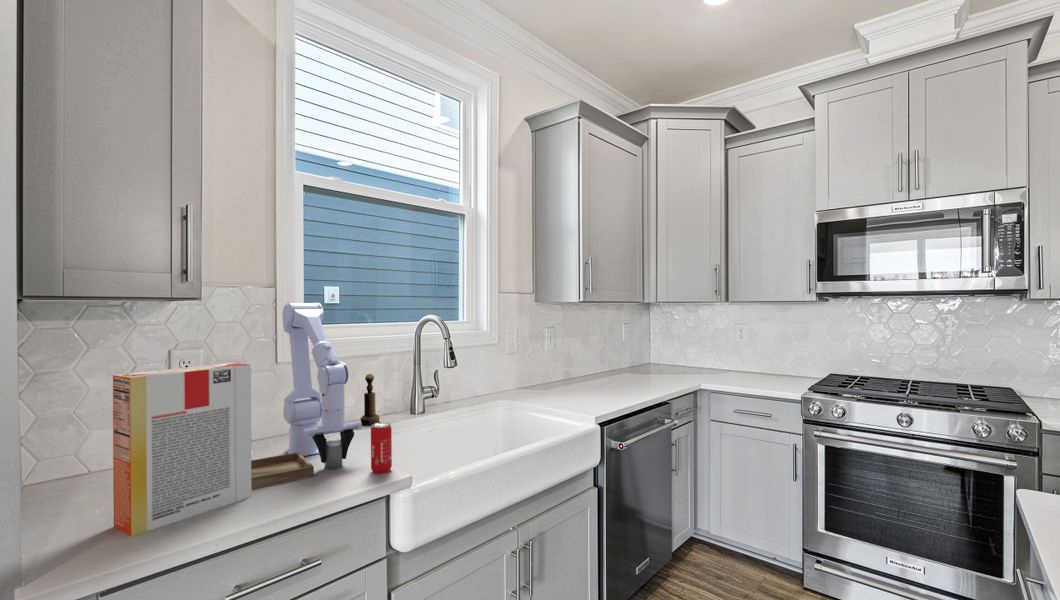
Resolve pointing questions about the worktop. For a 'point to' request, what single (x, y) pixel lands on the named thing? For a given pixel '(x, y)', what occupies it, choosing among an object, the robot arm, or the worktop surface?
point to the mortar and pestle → (369, 404)
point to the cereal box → (180, 443)
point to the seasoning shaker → (333, 454)
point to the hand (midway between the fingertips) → (333, 460)
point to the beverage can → (381, 448)
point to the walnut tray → (279, 469)
